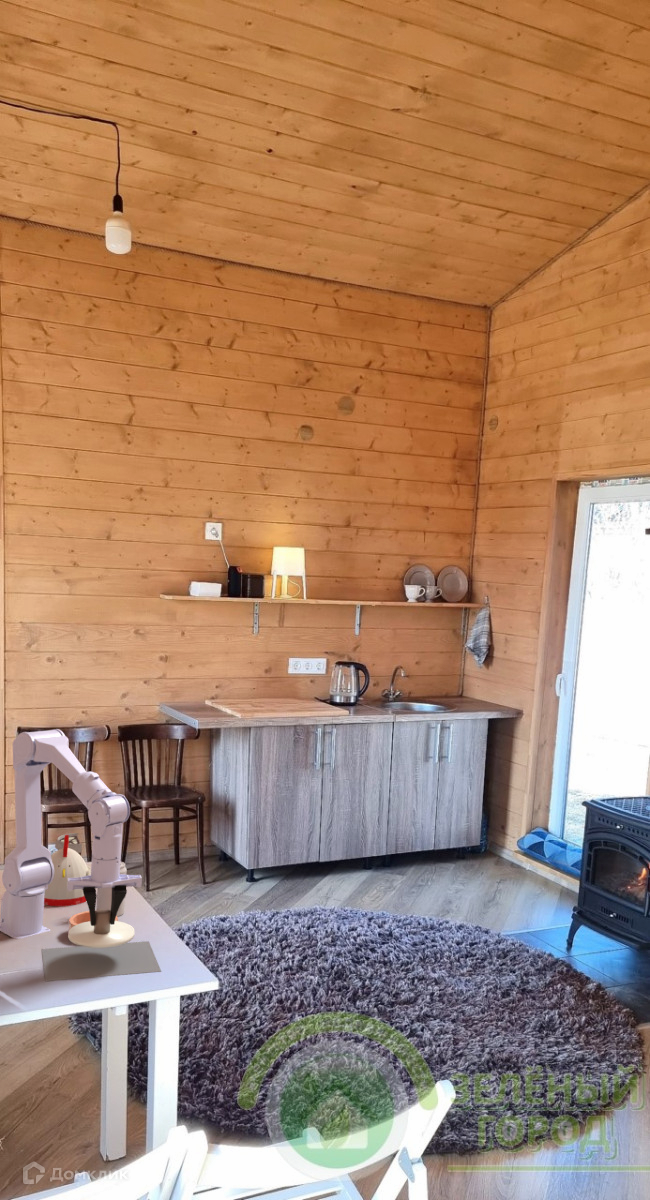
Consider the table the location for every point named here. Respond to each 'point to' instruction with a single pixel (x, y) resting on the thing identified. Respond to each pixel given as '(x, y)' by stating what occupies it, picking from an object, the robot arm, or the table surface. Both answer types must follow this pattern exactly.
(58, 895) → the kitchen timer
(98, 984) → the table surface
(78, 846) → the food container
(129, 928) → the lid
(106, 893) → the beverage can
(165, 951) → the table surface
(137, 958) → the mat
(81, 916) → the bowl
